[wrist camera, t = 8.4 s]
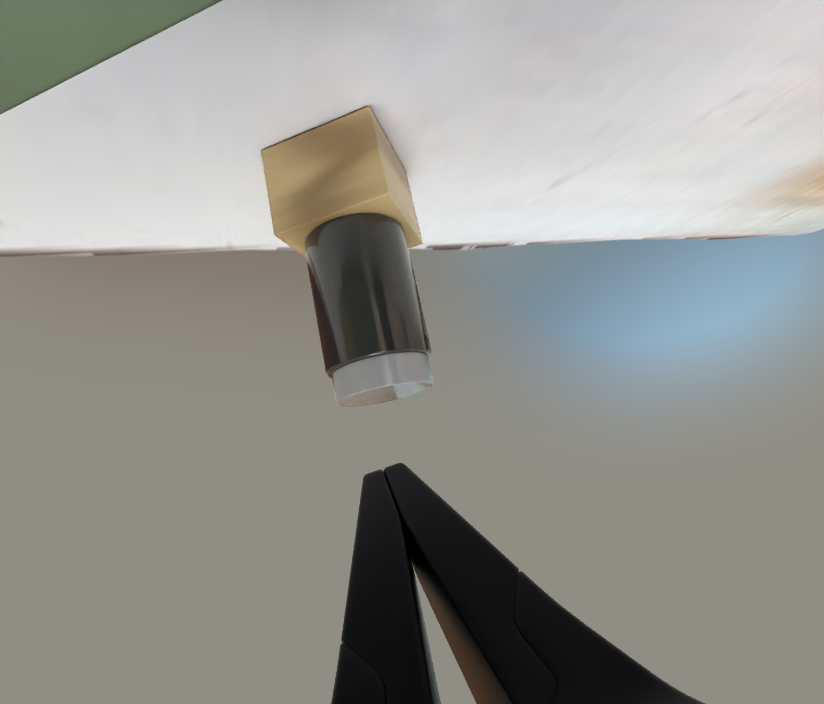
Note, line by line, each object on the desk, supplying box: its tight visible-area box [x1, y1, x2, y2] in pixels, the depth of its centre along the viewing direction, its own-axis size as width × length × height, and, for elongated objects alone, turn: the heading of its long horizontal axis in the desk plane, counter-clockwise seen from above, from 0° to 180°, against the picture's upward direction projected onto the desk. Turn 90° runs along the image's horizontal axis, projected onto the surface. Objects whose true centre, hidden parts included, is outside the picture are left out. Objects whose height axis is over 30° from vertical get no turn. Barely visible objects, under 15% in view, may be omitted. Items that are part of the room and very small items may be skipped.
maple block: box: [261, 107, 422, 257], centre depth 21 cm, size 5×5×4 cm
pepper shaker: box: [304, 213, 434, 407], centre depth 20 cm, size 4×4×7 cm
